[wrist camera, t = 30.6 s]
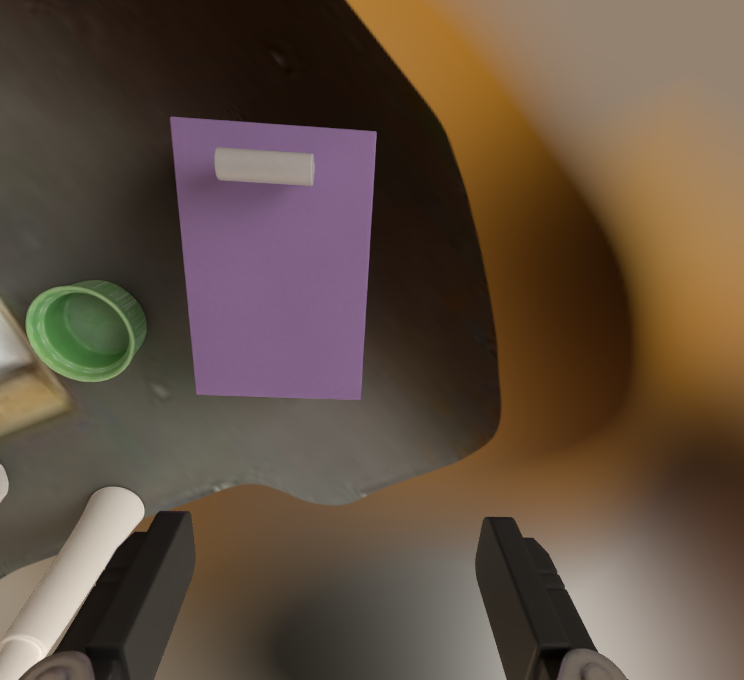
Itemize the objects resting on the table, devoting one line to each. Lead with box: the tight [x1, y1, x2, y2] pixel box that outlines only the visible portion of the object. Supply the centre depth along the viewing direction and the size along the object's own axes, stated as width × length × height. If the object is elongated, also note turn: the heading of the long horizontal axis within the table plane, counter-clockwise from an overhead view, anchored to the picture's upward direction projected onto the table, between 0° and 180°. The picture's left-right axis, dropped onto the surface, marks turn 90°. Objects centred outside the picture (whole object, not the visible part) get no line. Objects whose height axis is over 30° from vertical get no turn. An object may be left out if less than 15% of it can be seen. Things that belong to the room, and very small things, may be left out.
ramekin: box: [25, 280, 147, 382], centre depth 41 cm, size 9×9×4 cm
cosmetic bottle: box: [0, 487, 144, 680], centre depth 41 cm, size 6×6×22 cm
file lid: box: [170, 117, 377, 400], centre depth 31 cm, size 20×13×5 cm, turn 176°
